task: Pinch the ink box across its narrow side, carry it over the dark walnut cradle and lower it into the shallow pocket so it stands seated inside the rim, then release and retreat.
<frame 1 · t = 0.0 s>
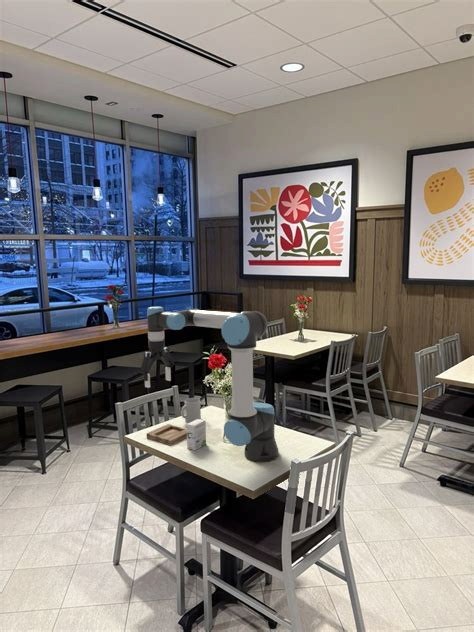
hand: (158, 383, 216), 28 cm above the table, fingers open, 13 cm apart
walnut cradle: (169, 436, 224), on the table
mug: (190, 421, 244), on the table
ink box: (196, 446, 212), on the table
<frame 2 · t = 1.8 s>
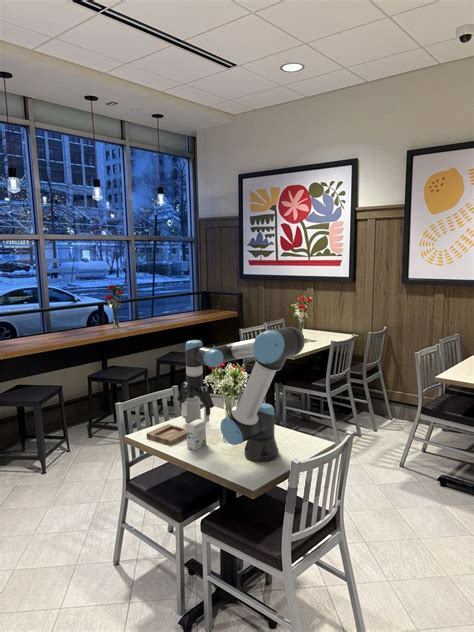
hand: (195, 418, 211), 13 cm above the table, fingers open, 13 cm apart
nothing on the table moved.
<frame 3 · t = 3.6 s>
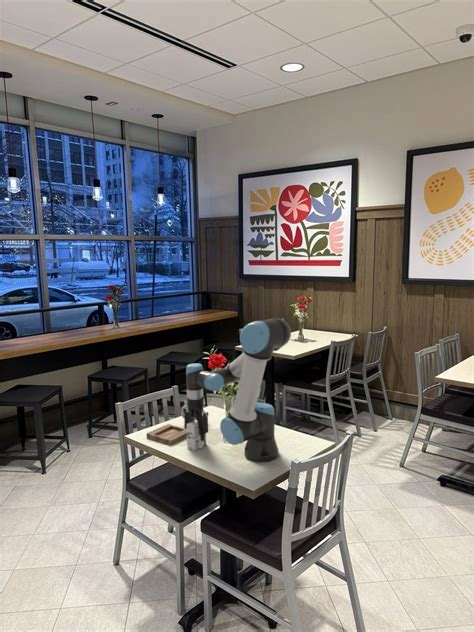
hand: (196, 445, 212), 0 cm above the table, fingers closed on ink box, 5 cm apart
ink box: (196, 446, 212), on the table, touching gripper
everything else where it was.
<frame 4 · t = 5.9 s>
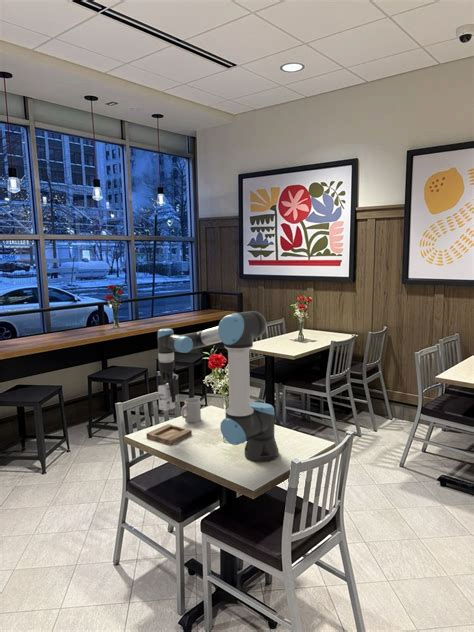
hand: (168, 407, 222), 15 cm above the table, fingers closed on ink box, 5 cm apart
ink box: (168, 408, 222), point 14 cm above the table, touching gripper
everything else where it was.
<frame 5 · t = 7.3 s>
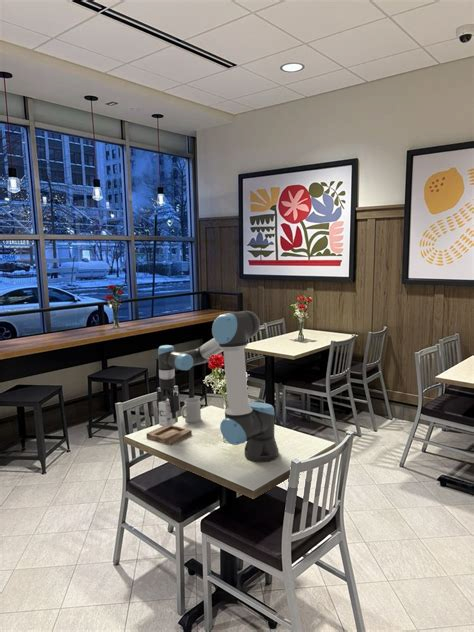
hand: (168, 423, 223), 7 cm above the table, fingers closed on ink box, 5 cm apart
ink box: (168, 424, 223), point 6 cm above the table, touching gripper
everything else where it was.
when the fingers open (3 cm above the table, at t = 8.2 s): ink box drops 2 cm, resting on walnut cradle.
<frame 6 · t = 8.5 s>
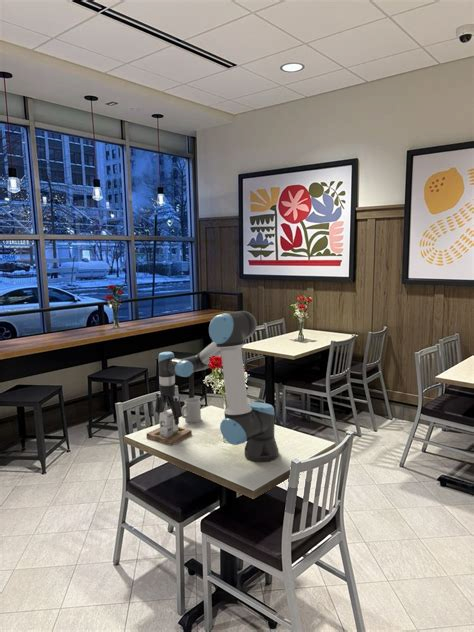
hand: (169, 428, 224), 4 cm above the table, fingers open, 8 cm apart
ink box: (169, 434, 224), point 1 cm above the table, touching walnut cradle
everything else where it was.
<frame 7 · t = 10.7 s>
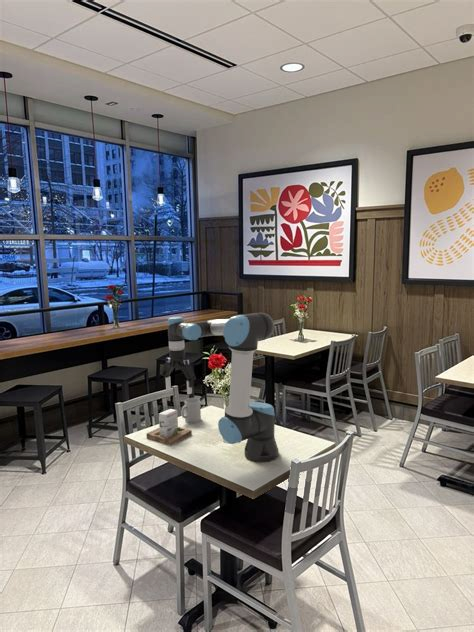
hand: (179, 391, 222), 22 cm above the table, fingers open, 13 cm apart
nothing on the table moved.
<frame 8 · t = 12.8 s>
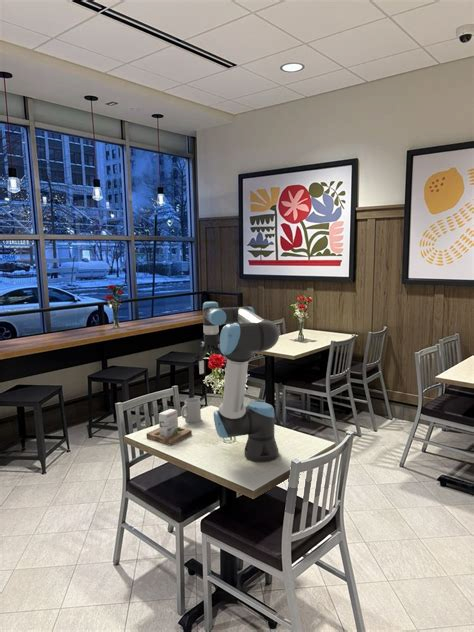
hand: (212, 375, 226), 29 cm above the table, fingers open, 13 cm apart
nothing on the table moved.
at the end: ink box inside the target area on the walnut cradle (0.2 cm from its centre), point 0.6 cm above the walnut cradle's base; ink box tilted 0°; the gripper is holding nothing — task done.
